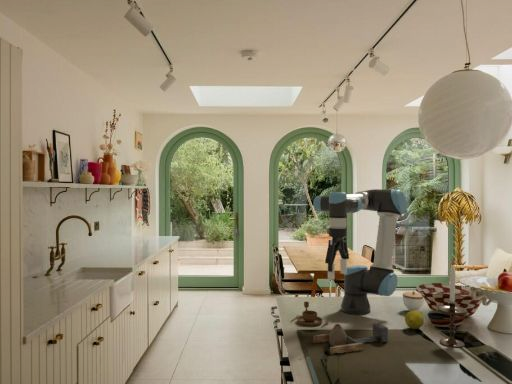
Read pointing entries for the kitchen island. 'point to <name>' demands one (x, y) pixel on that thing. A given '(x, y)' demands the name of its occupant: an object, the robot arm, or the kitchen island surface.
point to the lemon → (414, 319)
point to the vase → (337, 336)
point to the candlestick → (452, 313)
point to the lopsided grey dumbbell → (378, 335)
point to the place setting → (309, 317)
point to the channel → (338, 348)
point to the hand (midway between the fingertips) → (337, 276)
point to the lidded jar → (413, 300)
